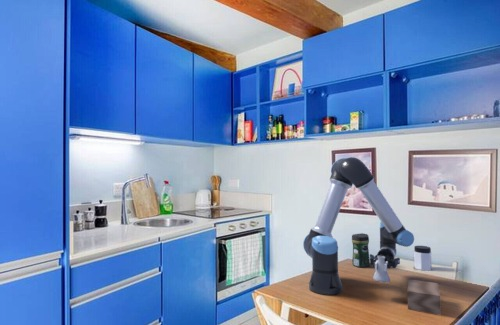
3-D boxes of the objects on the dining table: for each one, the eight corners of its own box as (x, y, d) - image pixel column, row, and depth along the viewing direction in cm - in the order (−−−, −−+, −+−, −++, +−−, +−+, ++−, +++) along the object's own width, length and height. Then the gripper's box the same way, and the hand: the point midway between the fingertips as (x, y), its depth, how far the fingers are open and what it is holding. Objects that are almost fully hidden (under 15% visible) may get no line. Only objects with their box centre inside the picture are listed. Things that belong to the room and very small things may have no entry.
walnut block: (407, 309, 123) (407, 291, 124) (409, 295, 137) (408, 279, 138) (440, 314, 118) (440, 295, 118) (438, 300, 132) (438, 283, 132)
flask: (392, 283, 131) (392, 259, 132) (374, 282, 133) (374, 258, 133) (388, 278, 138) (388, 255, 139) (371, 276, 140) (370, 254, 140)
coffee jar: (362, 263, 190) (361, 232, 191) (372, 266, 183) (371, 234, 183) (349, 264, 186) (349, 233, 187) (359, 268, 179) (358, 235, 179)
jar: (435, 269, 175) (434, 248, 175) (424, 271, 172) (424, 249, 173) (421, 265, 183) (420, 244, 184) (411, 267, 180) (410, 246, 181)
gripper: (404, 266, 150) (401, 279, 129) (368, 261, 158) (360, 273, 137) (404, 250, 150) (401, 261, 130) (368, 246, 158) (360, 255, 137)
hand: (380, 267), depth 133 cm, fingers closed on flask, 3 cm apart
